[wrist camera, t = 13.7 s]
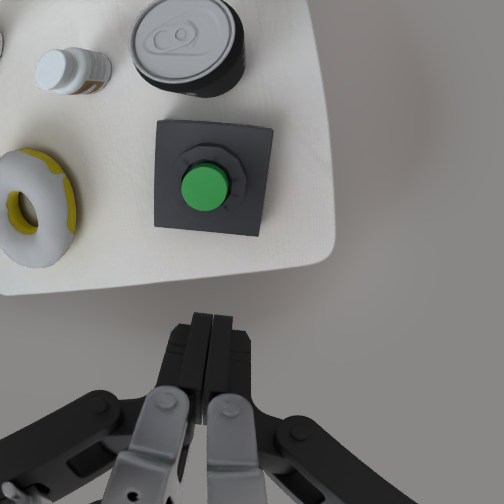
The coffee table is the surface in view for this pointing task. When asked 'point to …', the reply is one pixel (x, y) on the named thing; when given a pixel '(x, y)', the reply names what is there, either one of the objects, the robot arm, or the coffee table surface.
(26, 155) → the donut
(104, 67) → the pill bottle
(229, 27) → the beverage can
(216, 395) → the robot arm
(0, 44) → the cup
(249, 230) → the button block
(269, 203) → the coffee table surface
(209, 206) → the button
